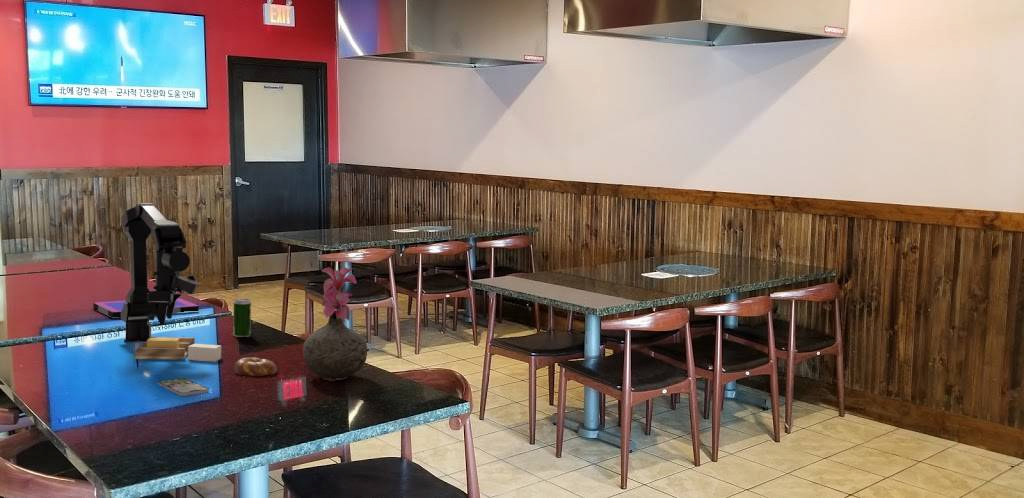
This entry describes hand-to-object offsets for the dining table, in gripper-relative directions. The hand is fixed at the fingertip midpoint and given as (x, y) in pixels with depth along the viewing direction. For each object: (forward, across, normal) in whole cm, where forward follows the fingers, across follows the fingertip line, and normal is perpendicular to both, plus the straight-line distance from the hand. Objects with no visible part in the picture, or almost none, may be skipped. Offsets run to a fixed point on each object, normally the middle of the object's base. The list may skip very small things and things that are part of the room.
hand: (165, 321), depth 252 cm
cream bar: (+10, -3, -11) cm, 16 cm away
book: (+10, +71, +22) cm, 75 cm away
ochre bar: (+9, 0, +1) cm, 9 cm away
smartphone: (+11, -34, -12) cm, 38 cm away
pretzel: (+11, -17, -27) cm, 34 cm away
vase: (+10, -23, -48) cm, 55 cm away
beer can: (+10, +29, -17) cm, 35 cm away
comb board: (+10, +4, +1) cm, 11 cm away
